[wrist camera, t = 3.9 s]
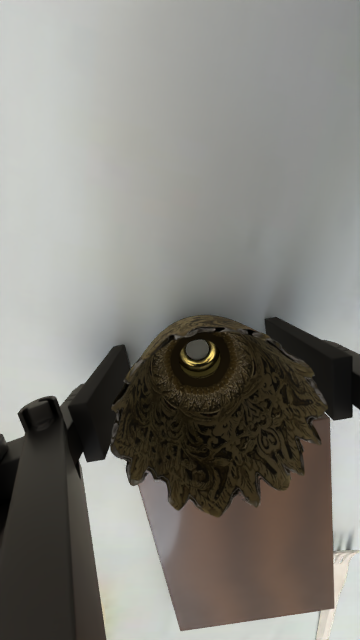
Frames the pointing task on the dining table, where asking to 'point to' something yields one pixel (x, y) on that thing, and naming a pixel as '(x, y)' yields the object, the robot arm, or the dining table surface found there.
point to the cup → (216, 414)
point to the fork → (335, 591)
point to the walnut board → (250, 548)
